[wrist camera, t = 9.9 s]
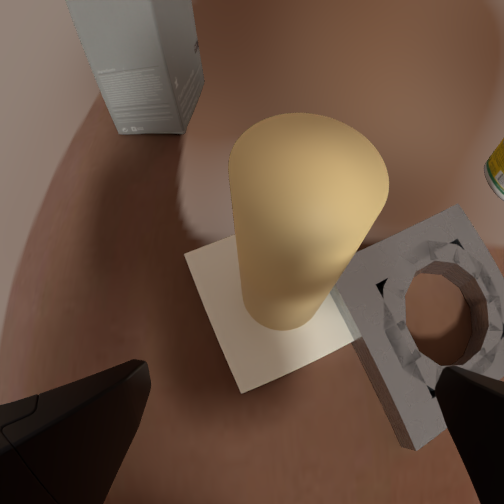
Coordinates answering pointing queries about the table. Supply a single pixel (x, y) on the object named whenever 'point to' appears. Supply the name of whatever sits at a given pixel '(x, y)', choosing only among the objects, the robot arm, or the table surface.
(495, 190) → the supplement bottle
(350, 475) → the table surface
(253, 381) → the tile
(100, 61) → the skincare box
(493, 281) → the housing
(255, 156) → the beige rounded peg
